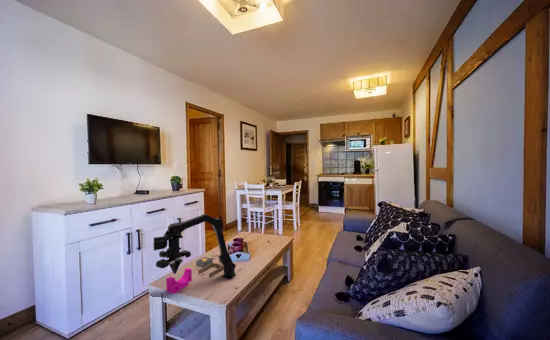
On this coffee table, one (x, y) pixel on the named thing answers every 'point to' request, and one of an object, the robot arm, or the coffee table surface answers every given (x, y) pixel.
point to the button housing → (203, 264)
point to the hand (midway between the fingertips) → (174, 273)
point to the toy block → (179, 281)
